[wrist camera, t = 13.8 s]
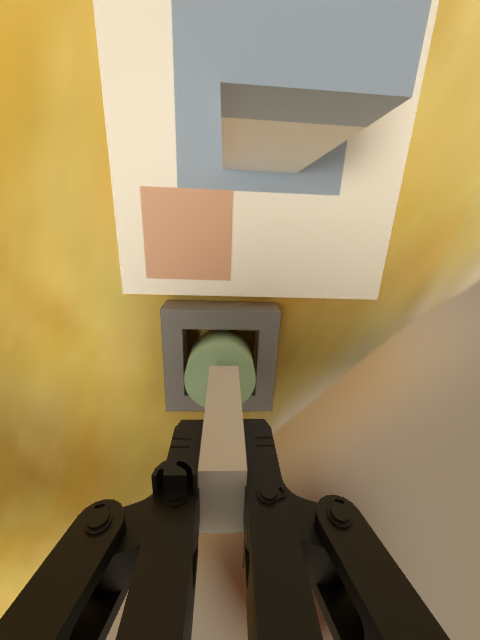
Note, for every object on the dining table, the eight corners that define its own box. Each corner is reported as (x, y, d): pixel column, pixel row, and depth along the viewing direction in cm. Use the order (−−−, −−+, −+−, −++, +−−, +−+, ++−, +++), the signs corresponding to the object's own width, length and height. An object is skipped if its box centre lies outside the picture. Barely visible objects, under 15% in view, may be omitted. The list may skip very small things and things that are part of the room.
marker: (222, 169, 15) (220, 82, 6) (224, 77, 14) (224, -240, 4) (295, 173, 15) (411, 97, 6) (304, 83, 14) (472, -201, 5)
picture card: (126, 291, 18) (122, 294, 17) (84, -132, 12) (76, -153, 11) (372, 297, 19) (378, 300, 18) (450, -89, 13) (462, -106, 12)
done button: (190, 385, 19) (185, 410, 16) (188, 329, 17) (183, 347, 15) (249, 385, 19) (253, 410, 16) (253, 330, 18) (258, 348, 15)
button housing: (171, 393, 20) (166, 411, 18) (167, 299, 18) (160, 309, 16) (267, 393, 21) (272, 411, 19) (275, 302, 18) (281, 311, 16)
